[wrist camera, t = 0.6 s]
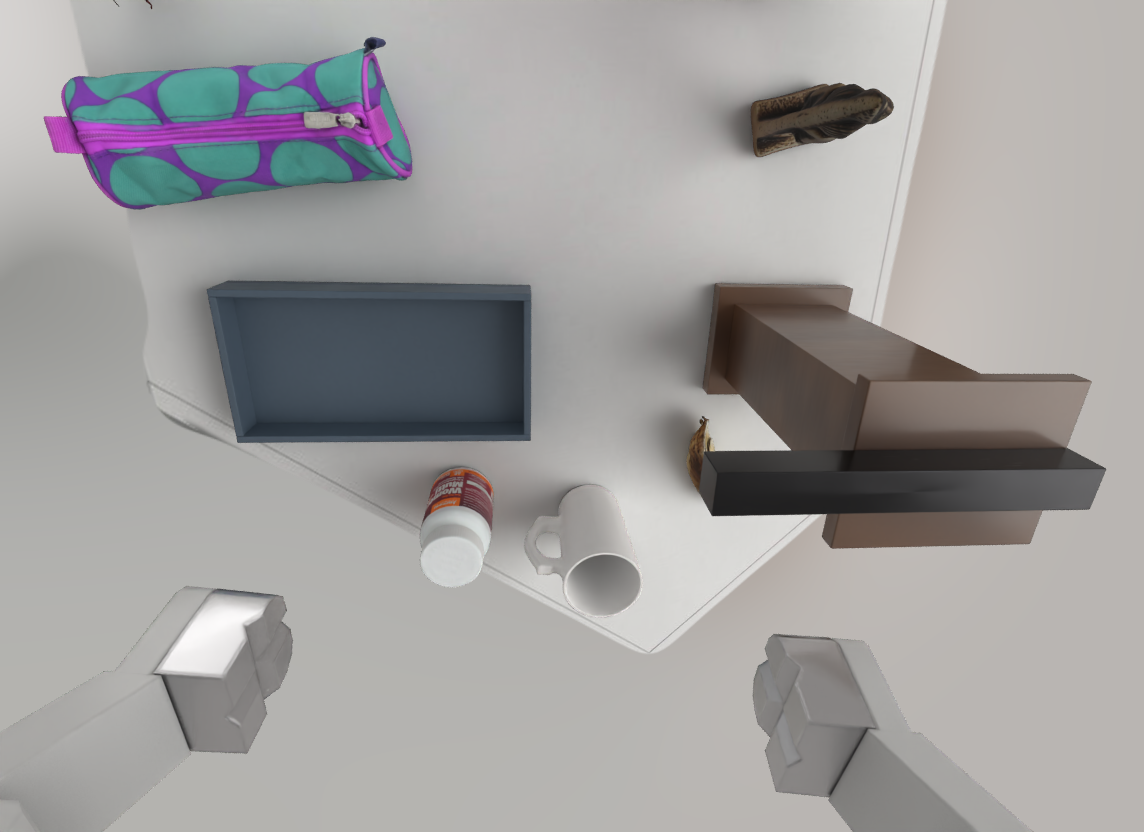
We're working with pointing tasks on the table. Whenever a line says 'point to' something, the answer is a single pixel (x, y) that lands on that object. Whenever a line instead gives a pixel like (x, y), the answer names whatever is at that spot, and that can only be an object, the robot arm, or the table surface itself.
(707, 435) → the oyster shell
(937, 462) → the rod
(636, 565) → the mug
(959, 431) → the stand
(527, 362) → the tray
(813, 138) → the statue
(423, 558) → the pill bottle
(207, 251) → the table surface
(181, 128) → the pencil case
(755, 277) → the table surface
